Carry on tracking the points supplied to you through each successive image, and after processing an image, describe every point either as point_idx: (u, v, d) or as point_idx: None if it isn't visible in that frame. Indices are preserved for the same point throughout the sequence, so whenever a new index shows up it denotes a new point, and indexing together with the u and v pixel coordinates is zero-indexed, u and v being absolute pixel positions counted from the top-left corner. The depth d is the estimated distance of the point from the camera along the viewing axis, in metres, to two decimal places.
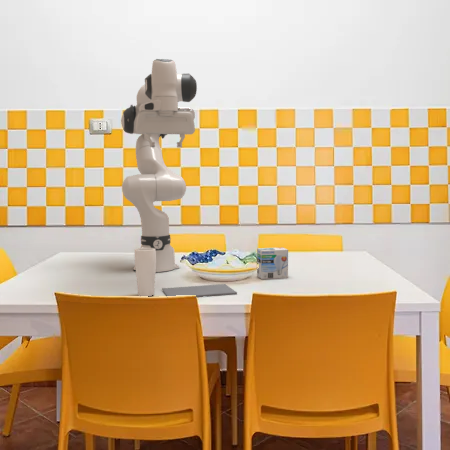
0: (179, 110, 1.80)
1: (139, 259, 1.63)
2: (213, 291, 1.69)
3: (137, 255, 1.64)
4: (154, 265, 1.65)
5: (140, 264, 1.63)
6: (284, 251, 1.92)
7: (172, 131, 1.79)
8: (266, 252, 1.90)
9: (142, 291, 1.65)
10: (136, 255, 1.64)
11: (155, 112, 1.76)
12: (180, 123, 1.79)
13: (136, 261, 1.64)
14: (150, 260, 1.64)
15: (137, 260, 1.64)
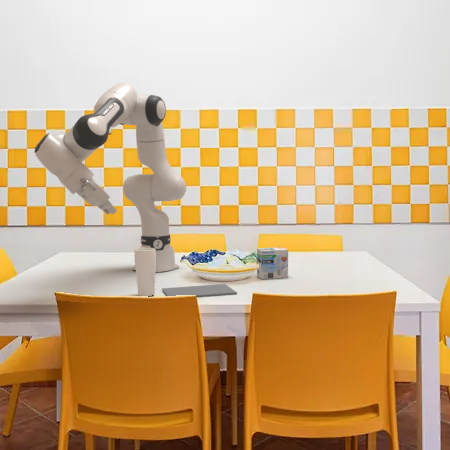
0: (83, 183, 1.54)
1: (139, 259, 1.63)
2: (213, 291, 1.69)
3: (137, 255, 1.64)
4: (154, 265, 1.65)
5: (140, 264, 1.63)
6: (284, 251, 1.92)
7: (96, 204, 1.58)
8: (266, 252, 1.90)
9: (142, 291, 1.65)
10: (136, 255, 1.64)
11: (77, 192, 1.62)
12: (91, 197, 1.55)
13: (136, 261, 1.64)
14: (150, 260, 1.64)
15: (137, 260, 1.64)
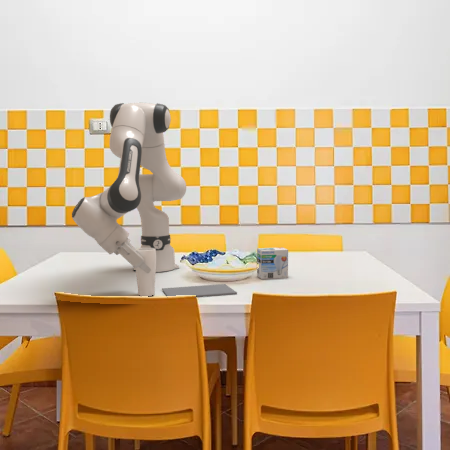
0: None
1: None
2: (213, 291, 1.69)
3: None
4: (154, 265, 1.65)
5: None
6: (284, 251, 1.92)
7: None
8: (266, 252, 1.90)
9: (142, 291, 1.65)
10: None
11: None
12: None
13: None
14: (150, 260, 1.64)
15: None
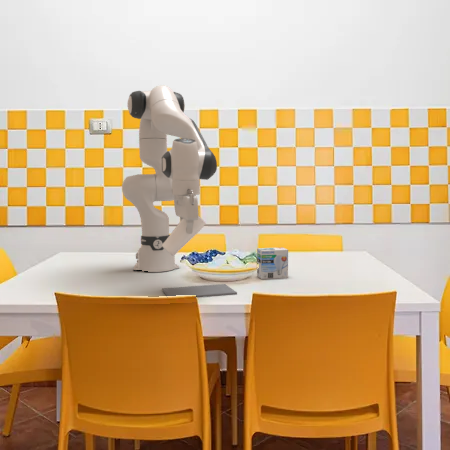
0: (187, 193, 1.62)
1: None
2: (213, 291, 1.69)
3: None
4: (194, 234, 1.67)
5: (186, 223, 1.65)
6: (284, 251, 1.92)
7: (182, 216, 1.65)
8: (266, 252, 1.90)
9: (168, 244, 1.65)
10: None
11: (175, 196, 1.70)
12: (183, 208, 1.62)
13: (185, 219, 1.66)
14: (196, 227, 1.66)
15: None
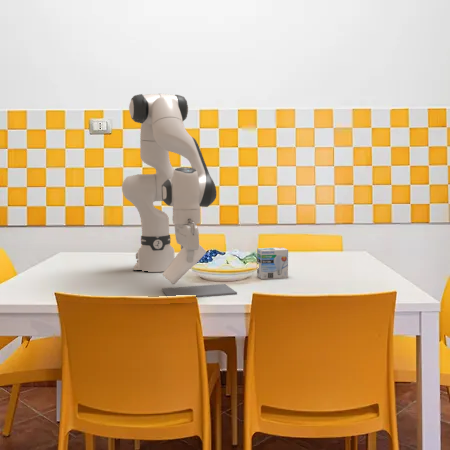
0: (188, 222, 1.63)
1: None
2: (213, 291, 1.69)
3: None
4: (195, 262, 1.68)
5: None
6: (284, 251, 1.92)
7: (183, 245, 1.66)
8: (266, 252, 1.90)
9: (169, 273, 1.66)
10: None
11: (176, 224, 1.71)
12: (184, 237, 1.63)
13: None
14: (197, 256, 1.67)
15: None
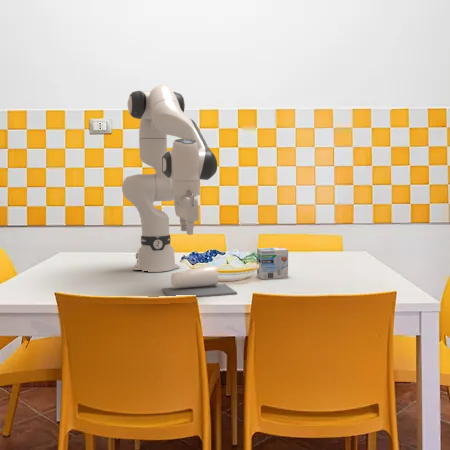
0: (188, 194, 1.62)
1: None
2: (213, 291, 1.69)
3: None
4: (203, 274, 1.73)
5: None
6: (284, 251, 1.92)
7: (182, 217, 1.65)
8: (266, 252, 1.90)
9: None
10: None
11: (175, 196, 1.70)
12: (184, 209, 1.62)
13: None
14: (207, 268, 1.75)
15: None
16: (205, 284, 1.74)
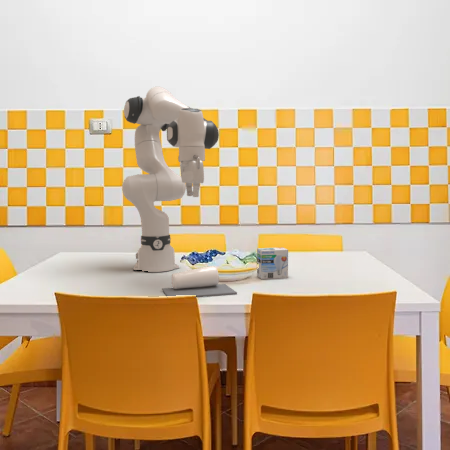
0: (193, 159, 1.73)
1: None
2: (213, 291, 1.69)
3: None
4: (203, 276, 1.73)
5: (201, 267, 1.76)
6: (284, 251, 1.92)
7: (188, 181, 1.76)
8: (266, 252, 1.90)
9: (177, 273, 1.73)
10: None
11: (182, 163, 1.81)
12: (190, 172, 1.73)
13: None
14: (208, 270, 1.74)
15: None
16: (205, 285, 1.74)
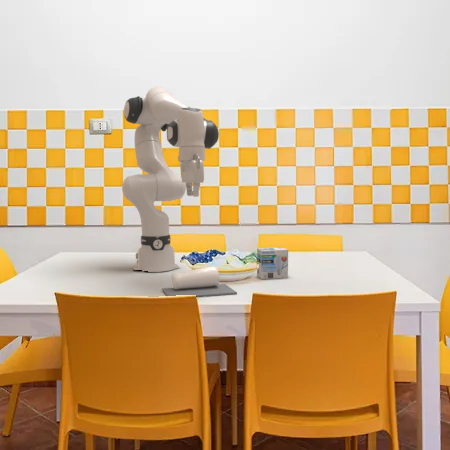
0: (193, 158, 1.73)
1: None
2: (213, 291, 1.69)
3: None
4: (204, 278, 1.72)
5: None
6: (284, 251, 1.92)
7: (188, 180, 1.76)
8: (266, 252, 1.90)
9: (177, 273, 1.73)
10: None
11: (182, 162, 1.81)
12: (190, 172, 1.73)
13: None
14: (208, 272, 1.73)
15: None
16: (205, 286, 1.74)
